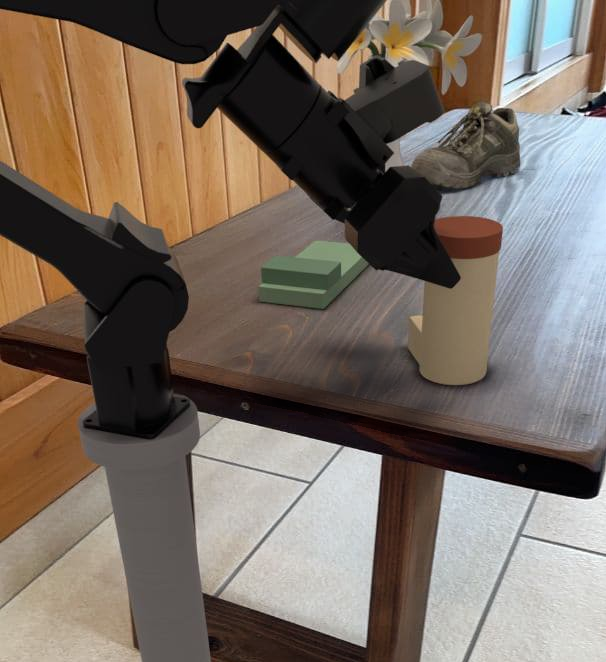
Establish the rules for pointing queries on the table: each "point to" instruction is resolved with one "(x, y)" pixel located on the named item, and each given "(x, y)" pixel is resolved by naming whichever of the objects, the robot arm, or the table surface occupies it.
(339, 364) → the table surface
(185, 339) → the table surface
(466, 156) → the hiking shoe
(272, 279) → the green stepped slab
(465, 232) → the brown-capped cream cylinder
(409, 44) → the flower vase
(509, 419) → the table surface
